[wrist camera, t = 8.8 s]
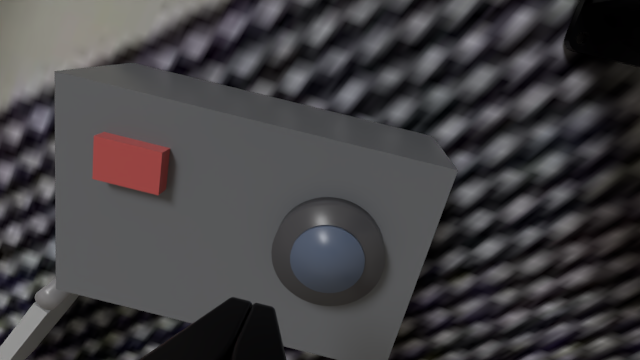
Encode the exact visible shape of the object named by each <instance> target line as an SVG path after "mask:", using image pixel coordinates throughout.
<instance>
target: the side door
mask: <svg viewBox="0 0 640 360" xmlns="http://www.w3.org/2000/svg"><path fill="white" fill-rule="evenodd" d="M78 296H79V295H77V294H73V293H69V292H65V291H61V290H57V289H56V278H55V279H53V280H52V281H51V282H50V283H48V284H47V285H46V286H45V287H43V288H42V289H41V290H39V291H38V292H37V293H36V295H35V300H36V302H35V303H34V304H33V305H32V306H31V308H30V309H29V310H28V312H27V313H26V314H25V316H24V317H23V318H22V319H21V321H20V322H19V323H18V325H17V326H16V327H15V328H14V330H13V331H12V332H11V334H10V335H9V336H8V338H7V339H6V340H5V341H4V343H3V344H2V345H1V346H0V360H25V359H26V358H27V357H28V356H29V355H30V354H31V353H32V352H33V351H34V350H35V349H36V347H37V346H38V345H39V344H40V343H41V341H42V340H43V339H44V338H45V337H46V335H47V334H48V333H49V332H50V330H51V329H52V328H53V327H54V326H55V324H56V323H57V322H58V321H59V319H60V318H61V317H62V316H63V315H64V313H65V312H66V311H67V310H68V309H69V307H70V306H71V305H72V304H73V302H74V301H75V300H76V299H77V298H78Z"/></svg>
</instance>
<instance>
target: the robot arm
mask: <svg viewBox="0 0 640 360" xmlns="http://www.w3.org/2000/svg"><path fill="white" fill-rule="evenodd" d="M581 32H582V33H583V34H584V40H583V42H582V43H581V44H577V42H576V37H577V35H578V34H579V33H581ZM564 42H565V46H566V47H567V49H569V50H571V51H574V52H578V53H582V54H586V55H590V56H594V57H598V58H602V59H607V60H611V61H615V62H619V63H623V64H627V65H631V66H635V67H640V0H580V2H579V4H578V6H577V9H576V11H575V14H574V16H573V18H572V21H571V23H570V26H569V28H568V30H567V33H566V35H565V40H564ZM140 360H286V356H285V351H284V347H283V342H282V338H281V333H280V329H279V325H278V320H277V316H276V311H275V309H274V308H273V307H272V306H268V305H264V304H260V303H254V304H253V305H252V303H251V302H250V301H248V300H244V299H240V298H236V297H231V298H229V299H227V300H226V301H224V302H223V303H221V304H220V305H219V306H217V307H216V308H214V309H213V310H211V311H210V312H208V313H207V314H205V315H204V316H203V317H201V318H200V319H198V320H197V321H195V322H194V323H192V324H191V325H189V326H188V327H186V328H185V329H184V330H182V331H181V332H179V333H178V334H176V335H175V336H173V337H172V338H170V339H169V340H168V341H166V342H165V343H163V344H162V345H160V346H159V347H157V348H156V349H154V350H153V351H151V352H150V353H149V354H147V355H146V356H144V357H143V358H141V359H140Z"/></svg>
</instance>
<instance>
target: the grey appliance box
mask: <svg viewBox="0 0 640 360" xmlns="http://www.w3.org/2000/svg"><path fill="white" fill-rule="evenodd" d="M457 172H458V170H457V168H456V167H455V166H454V164H453V163H452V162H451V160H450V159H449V158H448V156H447V155H446V154H445V153H444V151H443V150H442V149H441V147H440V146H439V145H438V143H437V142H436V141H435V139H434V138H433V137H432V136H429V135H425V134H421V133H417V132H413V131H409V130H405V129H401V128H397V127H392V126H388V125H384V124H380V123H376V122H372V121H368V120H364V119H360V118H356V117H352V116H348V115H344V114H339V113H335V112H331V111H327V110H323V109H319V108H315V107H311V106H307V105H303V104H299V103H295V102H290V101H286V100H282V99H278V98H274V97H270V96H266V95H262V94H258V93H254V92H250V91H246V90H242V89H237V88H233V87H229V86H225V85H221V84H217V83H213V82H209V81H205V80H201V79H197V78H193V77H188V76H184V75H180V74H176V73H172V72H168V71H164V70H160V69H156V68H152V67H148V66H144V65H139V64H135V63H127V64H118V65H109V66H99V67H90V68H80V69H71V70H62V71H55V210H56V289H57V290H61V291H65V292H69V293H73V294H77V295H81V296H85V297H89V298H93V299H97V300H101V301H105V302H109V303H113V304H117V305H121V306H125V307H129V308H133V309H137V310H141V311H145V312H149V313H153V314H157V315H161V316H165V317H169V318H173V319H177V320H181V321H185V322H189V323H194V322H195V321H197V320H198V319H200V318H201V317H203V316H204V315H205V314H207V313H208V312H210V311H211V310H213V309H214V308H216V307H217V306H219V305H220V304H221V303H223V302H224V301H226V300H227V299H229V298H231V297H236V298H240V299H244V300H248V301H250V302H251V303H252V305H253V304H254V303H260V304H264V305H268V306H272V307H273V308H274V309H275V311H276V316H277V320H278V325H279V329H280V333H281V338H282V342H283V346H285V347H289V348H293V349H297V350H301V351H305V352H309V353H313V354H316V355H320V356H324V357H328V358H332V359H336V360H388V358H389V356H390V353H391V350H392V347H393V345H394V342H395V339H396V337H397V334H398V331H399V328H400V326H401V323H402V320H403V318H404V315H405V312H406V310H407V307H408V304H409V301H410V299H411V296H412V293H413V291H414V288H415V285H416V282H417V280H418V277H419V274H420V272H421V269H422V266H423V264H424V261H425V258H426V255H427V253H428V250H429V247H430V245H431V242H432V239H433V237H434V234H435V231H436V228H437V226H438V223H439V220H440V218H441V215H442V212H443V209H444V207H445V204H446V201H447V199H448V196H449V193H450V191H451V188H452V185H453V182H454V180H455V177H456V174H457Z"/></svg>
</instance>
